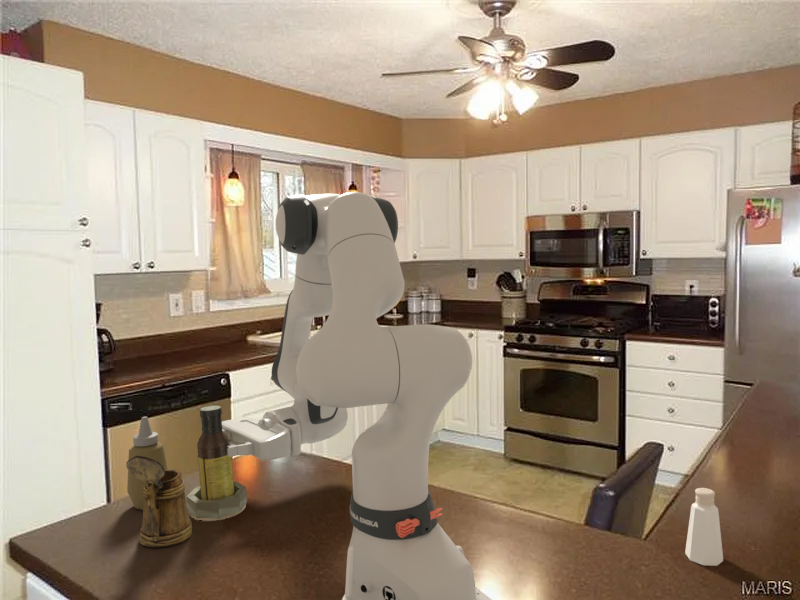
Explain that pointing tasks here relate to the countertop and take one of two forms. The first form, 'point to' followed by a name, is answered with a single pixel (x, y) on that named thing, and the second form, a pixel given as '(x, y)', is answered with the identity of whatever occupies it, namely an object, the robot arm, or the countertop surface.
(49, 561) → the countertop surface
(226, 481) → the sauce bottle
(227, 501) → the grey faceted bowl
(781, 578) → the countertop surface
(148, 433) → the squeeze bottle
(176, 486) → the wooden mug
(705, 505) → the salt shaker
